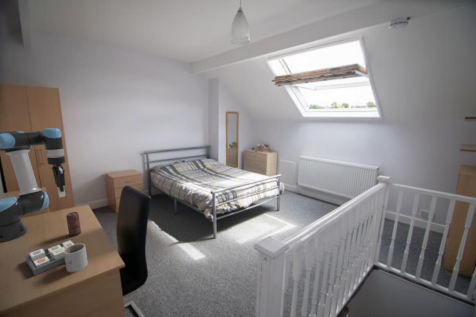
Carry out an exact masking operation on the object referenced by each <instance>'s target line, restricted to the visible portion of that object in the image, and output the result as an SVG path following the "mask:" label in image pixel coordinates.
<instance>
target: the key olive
mask: <svg viewBox="0 0 476 317" xmlns="http://www.w3.org/2000/svg"><path fill="white" fill-rule="evenodd" d="M56 245H57V244H56ZM48 248H49V247H48ZM59 248H62V247H61V246H60V245H57V246H55V247H52V248H49V249H48V252H49V255H50V256H51V257H53V256H52V251H54V250H57V249H59Z"/></svg>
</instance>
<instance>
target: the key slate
mask: <svg viewBox="0 0 476 317" xmlns="http://www.w3.org/2000/svg"><path fill="white" fill-rule="evenodd" d="M28 255H30V258H31V260H32V261H33V262H34V261H36V260H39V259H41V258H44V257H46V255H45V252H44V250H43V248H40V249H38V250H35V251H31V252H29V254H28Z"/></svg>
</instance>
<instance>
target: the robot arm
mask: <svg viewBox="0 0 476 317" xmlns="http://www.w3.org/2000/svg"><path fill="white" fill-rule="evenodd" d="M62 136H63V135H62V131H61V129H59V128H54V127H51V128H44V129H42V130H38V131H37V130H36V131H28V132H27V131H26V132H25V131H22V130H21V131H18V130H14V131H0V152H4V153H5V155H7V156H9V157H10V158H9V159H10V161H11V165H12V168H13V171H14V174H15V178H16V181H17V184H18V187H19V188H18V189H19V190H20V192H19V193H18V197H15V196H9V197H5V198H4V197H3V198H1V199H0V243H3V242H8V241H12V240H15V239H17V238H20V237H22V236H24V235H25V234H27V232H28V228H27V227H26V225H25V223H24V222H23V221H22V219H21V217H23V216H26V215H29V214H33V213H36V212H40V211H43V210H44V209H46V208H48V207H49V202H50V199H49V195H48V192H46V191H43V189H41V188H39V186H38V183H37V180H36V177H35V172H34V169H33V165H32V162H31V158H30V156H29V152H31V149H32V147H34V146H35V147H36V146H44V147H45V151H44V153H45V154H46V157H47V158H46V160H47V164H48V165H52V167H51V170H52V175H53V178H54V183H55V185H56V188H57V193H58V197H59V198H63V197H66V191H65V186H66V179H65V178H66V177H65V176H66V175H65V173H66V172H65V170H64V167H63V166H62V165H63V164H64V163H66V157H65V150H64V145H63V137H62Z"/></svg>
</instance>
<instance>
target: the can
mask: <svg viewBox="0 0 476 317" xmlns="http://www.w3.org/2000/svg"><path fill="white" fill-rule="evenodd" d="M79 215H80V214H79V213H78V212H77V211H72V212H68V213H67V214H66V216H65V217H66V223H67V229H68V230H67V232H68V236H70V237H76V236H80V234H81V233H82V229H81V222H80V216H79Z"/></svg>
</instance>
